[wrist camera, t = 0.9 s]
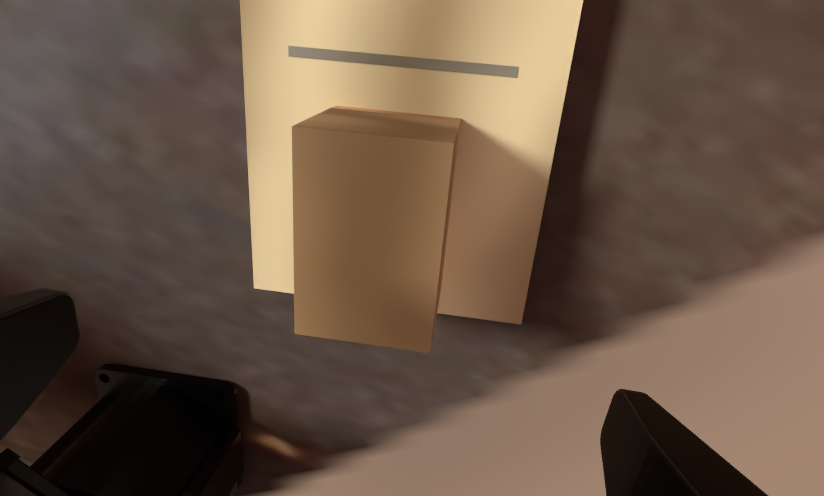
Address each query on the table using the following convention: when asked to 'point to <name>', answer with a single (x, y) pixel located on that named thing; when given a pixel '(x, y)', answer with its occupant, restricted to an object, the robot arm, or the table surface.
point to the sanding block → (371, 224)
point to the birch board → (419, 94)
